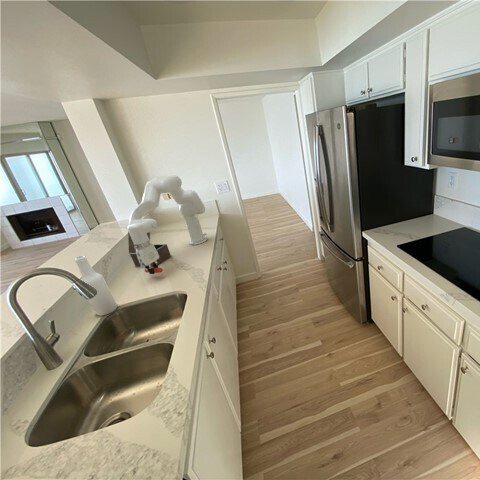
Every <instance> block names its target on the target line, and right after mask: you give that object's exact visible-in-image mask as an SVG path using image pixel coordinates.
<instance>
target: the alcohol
mask: <svg viewBox="0 0 480 480" xmlns="http://www.w3.org/2000/svg"><path fill="white" fill-rule="evenodd" d="M87 259H88V258H87V257H86V256H85V255H80V256H77V257H75V258H74V261H75V263H76V266H77V268H78V270H79V273H80V275H81V279H80V280H82V281H84V282H85V283H87V284H89V285H91V286H92V287H94V288H95V289H96V290H97V295H96V296H95V297H94V298H93V299H91V300H88V302H89V304H90V306H91V307H92V309H93V311H94V312H95V314H96V315H97V316H99V317H100V316H101V317H103V316H107V315H108V314H109V315H110V314H111V313H113V312H114V311H115V310H116V309H117V308H118V302H117V301H116V299H115V297H114V295H113V293H112V291H111V289H110V287H109V285H108V284H107V281H106V280H105V277H104V276H103V275H102V274H101V273H99V272H96V271H95V270H94V268H93V267H92V265H91V264H90V263H89V261H88V260H87Z"/></svg>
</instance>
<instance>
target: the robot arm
mask: <svg viewBox="0 0 480 480" xmlns="http://www.w3.org/2000/svg"><path fill="white" fill-rule="evenodd" d="M182 183H183V182H182V179H181V178H180V177H179V176H178V175H163V176H156V177H154V178H153V179H151V180H149V181H146V184H145V187H144V191H143V196H142V200H141V202H140V203H139V204H138V205H137V206H136V207H135V208H134V209H133V210H132V212H131V213H130V216H129V221H128V226H127V229H126V230H127V232H128V231H129V234H130V236H131V238H132V240H133V243H134V245H135V247H134V249H136V254H137V257H138V260H139V263H140V264H141V266H140V269H148V271H149V273H148V274H149V275H155V274H156V273H154V270H153V268H159V265H157V264H158V263H157V262H158V259H159V254H158V252H157V250H156V248H155V247H154V245H153V243H151V239H150V240H149V238H148V236H147V233H149V232H150V233H151V232H154V231H155V230H157V228H158V222H157V220H156V219H154V218H144V216H145V215H147V214H148V213H149V212H151V211H153V210H155V209H157V208H158V207H159V205H160V200H161V195H162V194H169V195H170V196H171V198H172V199H173V201H174V202H175V203H176V204H177V205H179V207H178V208H179V213H180V215H181V216H182V218H183V221H184V223H185V226H186V229H187V233H188V235H189V238H190V241H189V245H191V246H195V245H200V244H203V243H205V242H206V241H207V239H208V238H207V237H206V236H207V235H208V233H207V232H204V233H203V230H202V225H201V224H200V219H199V218H198V216H197V215H203V214H204V213H205V211H206V207H205V204H204V202H203V201H202V200H201V197H200V196H199V194H198V193H197V192H196V191H195V190H192V189H191V190H189V189H188V190H184V189H183V188H182V187H181V186H182ZM151 263H152V264H153V265H152V266H153V267H151V265H150V264H151ZM144 264H145V266H144Z"/></svg>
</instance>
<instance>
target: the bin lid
mask: <svg viewBox="0 0 480 480" xmlns="http://www.w3.org/2000/svg"><path fill="white" fill-rule="evenodd" d="M147 236H148V238H149V240H150V241H151V232H149V233H147ZM127 237H128V238H127V239H128V253H129V254H130V253H136V249H134V247H135V245H134V243H133V240H132V238H131V236H130V234H129V231H128V230H127Z"/></svg>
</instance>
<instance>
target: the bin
mask: <svg viewBox="0 0 480 480" xmlns="http://www.w3.org/2000/svg"><path fill="white" fill-rule="evenodd" d="M152 244H153V243H152ZM153 245H154V247H155V248H156V250H157V252H158V254H159V259H158V262H157V263H158V264H157V265H158V266H160V265H161V264H162V263H164V262H165V261H167V260H169V259H170V258H171V257H172V254H171V252H170V250H169V246H168V244H167V243H156V244H155V243H154V244H153ZM129 255H130V258H131V260H132V262H133V264H134V266H135V267H137V268H139V267H140V266H141V264H140V263H139V260H138V257H137V254H136V253H129ZM150 265H151V268H153V266H152V265H153V264H152V263H151V264H150ZM144 266H145V264H144Z"/></svg>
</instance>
